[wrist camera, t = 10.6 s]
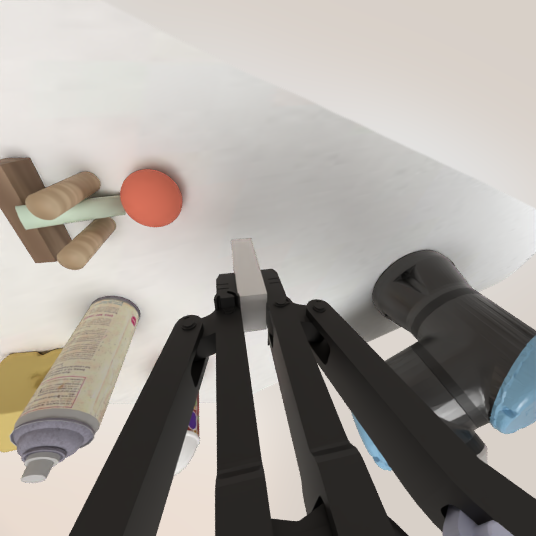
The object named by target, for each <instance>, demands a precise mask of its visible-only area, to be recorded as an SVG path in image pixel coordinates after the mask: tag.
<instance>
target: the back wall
mask: <svg viewBox="0 0 536 536" xmlns="http://www.w3.org/2000/svg"><path fill="white" fill-rule="evenodd" d="M44 188H45V187H44V185H43V183H42V181H41V179H40V177H39V175H38V173H37V171H36V169H35V167H34V165H33V163H32V161H31V159H30V158H5V159H1V160H0V208H1V210H2V211H3V213H4V215H5V216H6V218H7V219H8V221H9V222H10V224H11V225H12V227H13V229H14V230H15V232H16V233H17V235H18V236H19V238H20V240H21V241H22V243H23V244H24V246H25V247H26V249H27V250H28V252H29V254H30V255H31V257H32V258H33V260H34V261H35V263H44V262H56V261H57V254H58V253H59V252H60V251H61V250H62V249H63V248H64V247H65V246H66V245H67V244H69V243H70V242H71V241H72V240H71V238H70V236H69V234H68V232H67V230H66V228H65V226H64V224H60V225H54V226H47V227H41V228H34V229H28V230H26V229H25V228H24V226H23V225H22V223H21V221H20V219H19V217H18V214H17V212H16V209H15V206H21V205H26V203H25V201H26V198H27V197H28V196H29V195H31V194H33V193H35V192H38V191H40V190H42V189H44Z"/></svg>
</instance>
